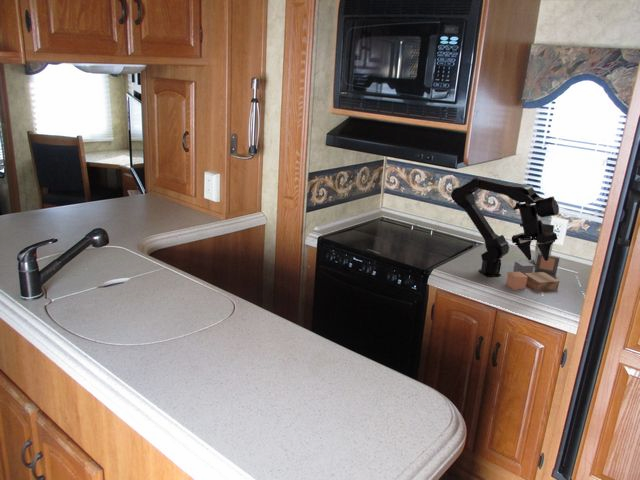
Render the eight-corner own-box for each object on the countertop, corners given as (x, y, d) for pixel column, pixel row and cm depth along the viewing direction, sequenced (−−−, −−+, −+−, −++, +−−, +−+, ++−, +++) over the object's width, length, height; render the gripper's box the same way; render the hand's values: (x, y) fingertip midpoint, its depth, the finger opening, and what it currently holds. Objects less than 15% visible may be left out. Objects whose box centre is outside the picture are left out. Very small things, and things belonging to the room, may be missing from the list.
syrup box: (549, 266, 231) (556, 233, 227) (534, 264, 232) (540, 231, 228) (546, 261, 237) (553, 229, 232) (532, 259, 238) (538, 227, 233)
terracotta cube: (513, 289, 205) (516, 277, 204) (505, 284, 210) (508, 272, 208) (525, 288, 207) (527, 276, 205) (517, 283, 211) (519, 271, 209)
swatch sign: (533, 274, 221) (537, 255, 219) (534, 270, 225) (538, 252, 223) (555, 278, 218) (559, 259, 216) (555, 274, 223) (559, 255, 220)
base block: (536, 292, 205) (539, 282, 203) (522, 282, 213) (524, 273, 212) (557, 291, 207) (559, 281, 206) (541, 281, 215) (543, 272, 214)
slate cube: (520, 277, 217) (522, 266, 215) (512, 272, 221) (515, 261, 220) (531, 277, 218) (533, 265, 217) (523, 272, 223) (525, 260, 221)
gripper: (565, 213, 197) (573, 255, 198) (530, 215, 215) (539, 254, 216) (539, 220, 194) (548, 263, 195) (507, 222, 212) (515, 261, 213)
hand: (538, 260), depth 205 cm, fingers open, 9 cm apart
